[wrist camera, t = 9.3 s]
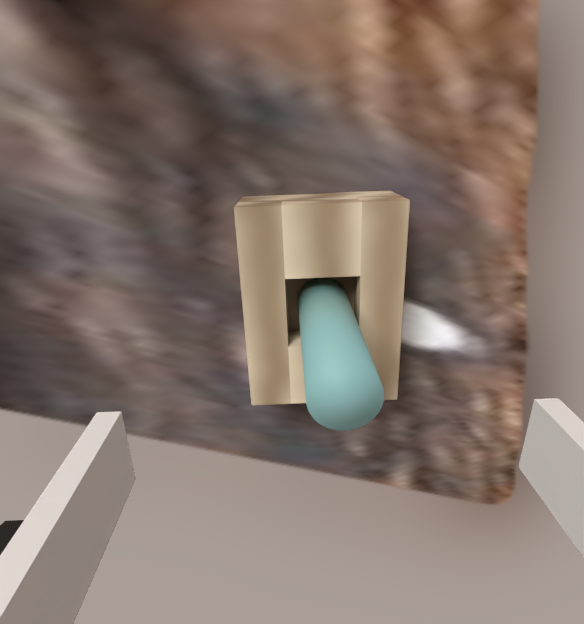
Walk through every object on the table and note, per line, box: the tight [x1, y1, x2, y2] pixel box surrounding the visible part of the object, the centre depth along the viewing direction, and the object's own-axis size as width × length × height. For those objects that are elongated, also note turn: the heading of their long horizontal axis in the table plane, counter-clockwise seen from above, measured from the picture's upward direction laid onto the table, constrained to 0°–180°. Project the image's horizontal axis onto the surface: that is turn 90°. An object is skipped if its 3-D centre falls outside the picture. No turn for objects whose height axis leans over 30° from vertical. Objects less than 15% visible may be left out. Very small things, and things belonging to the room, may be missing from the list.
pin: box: [298, 277, 384, 431], centre depth 28 cm, size 4×4×14 cm
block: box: [234, 191, 410, 405], centre depth 35 cm, size 12×16×6 cm
